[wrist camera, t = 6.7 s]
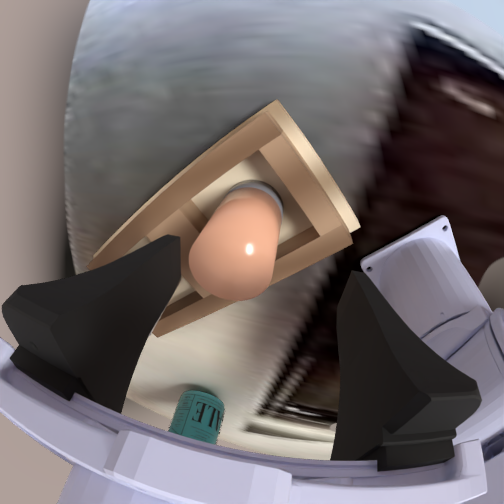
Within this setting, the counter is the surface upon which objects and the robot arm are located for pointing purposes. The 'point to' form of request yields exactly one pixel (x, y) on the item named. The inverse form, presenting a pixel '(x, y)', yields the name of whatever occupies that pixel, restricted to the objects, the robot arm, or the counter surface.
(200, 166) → the socket holder
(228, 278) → the peach rounded capsule
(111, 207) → the counter surface
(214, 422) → the beverage bottle
